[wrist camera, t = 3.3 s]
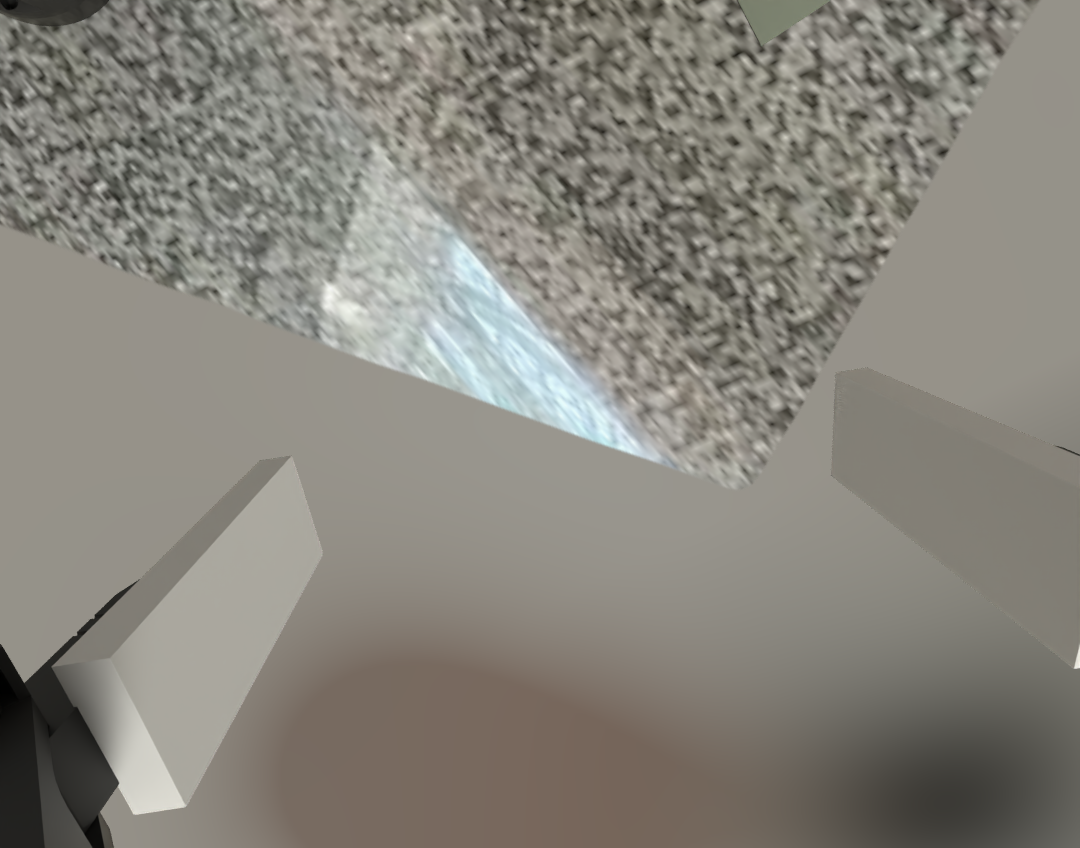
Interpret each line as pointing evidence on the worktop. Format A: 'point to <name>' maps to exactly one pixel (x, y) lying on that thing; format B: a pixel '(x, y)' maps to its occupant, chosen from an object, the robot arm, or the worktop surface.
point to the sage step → (776, 15)
